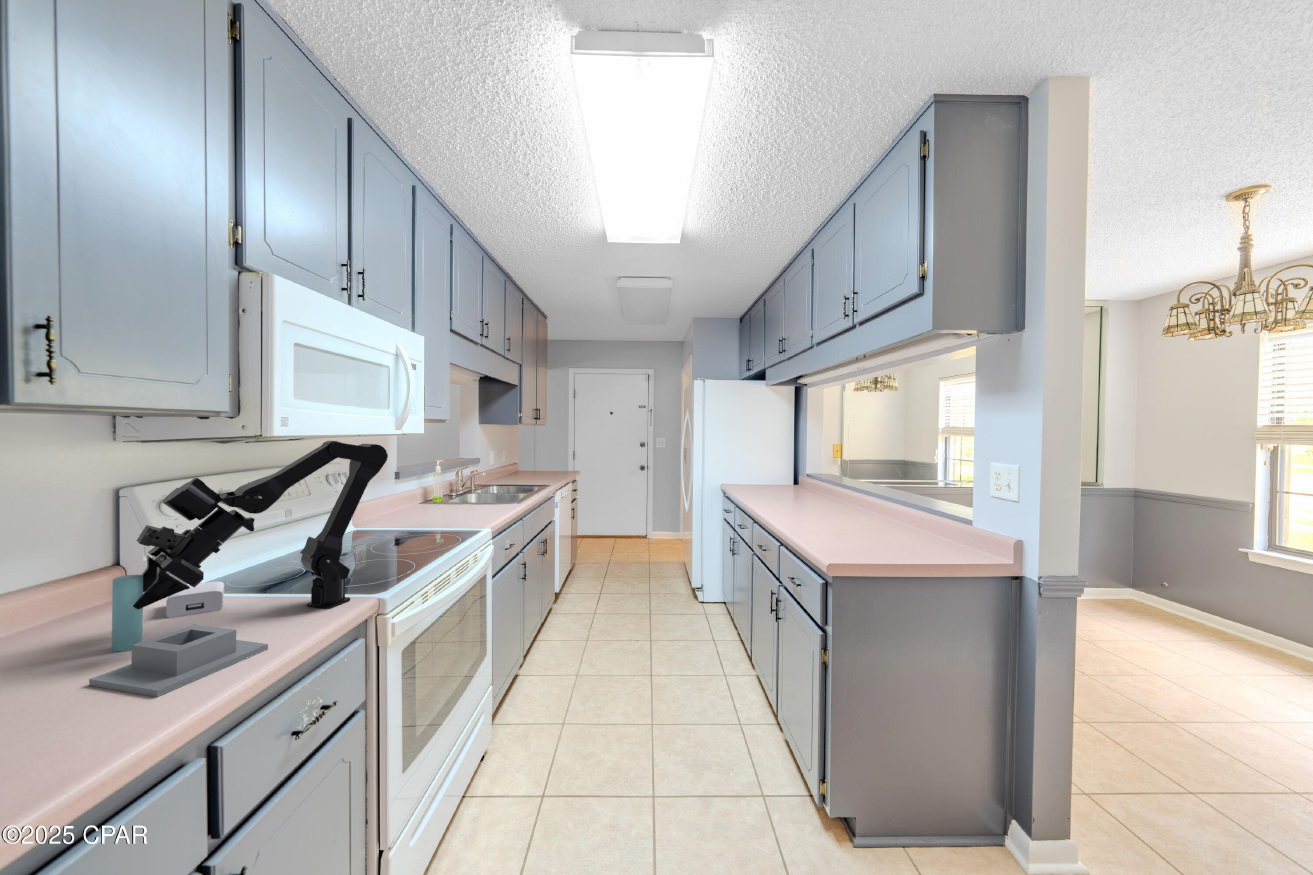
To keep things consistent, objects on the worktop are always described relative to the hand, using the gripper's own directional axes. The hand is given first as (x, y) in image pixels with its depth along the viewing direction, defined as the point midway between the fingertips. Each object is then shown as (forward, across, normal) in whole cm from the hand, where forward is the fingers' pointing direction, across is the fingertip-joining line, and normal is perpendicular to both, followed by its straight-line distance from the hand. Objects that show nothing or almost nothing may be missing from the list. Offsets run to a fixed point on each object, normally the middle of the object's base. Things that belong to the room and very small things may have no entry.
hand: (131, 602), depth 97 cm
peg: (+6, 0, +6) cm, 8 cm away
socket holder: (+2, +17, +9) cm, 20 cm away
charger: (-3, -21, +15) cm, 26 cm away
